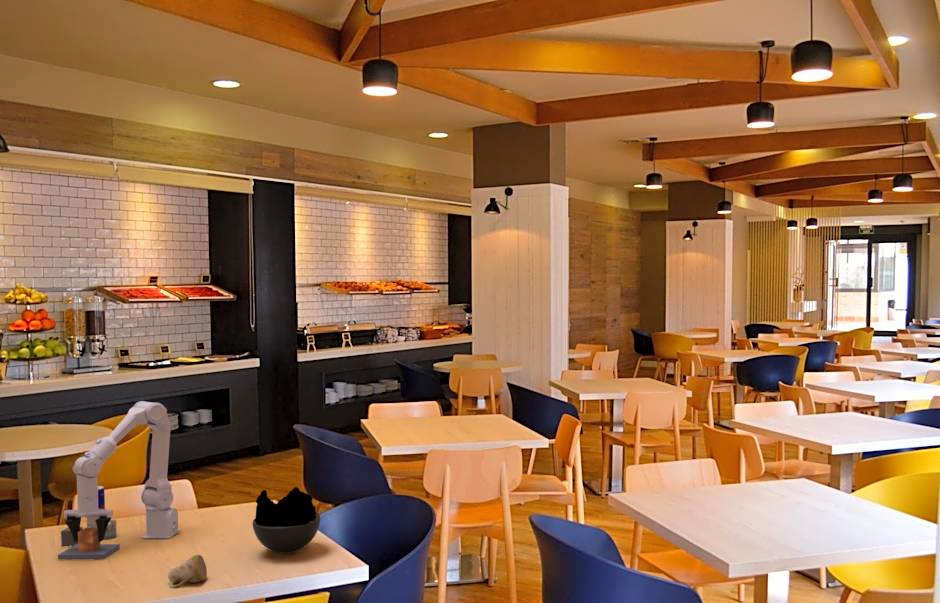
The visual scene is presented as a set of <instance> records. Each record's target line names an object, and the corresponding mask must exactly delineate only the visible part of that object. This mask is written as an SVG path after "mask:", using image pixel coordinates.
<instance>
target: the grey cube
mask: <svg viewBox="0 0 940 603" xmlns="http://www.w3.org/2000/svg"><path fill="white" fill-rule="evenodd" d="M114 538H117V520H115V519H111V520H110V522H109V524H108V526H107V529H106V532H105V537H104V540H107V539H108V540H109V539H114Z"/></svg>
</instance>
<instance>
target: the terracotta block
mask: <svg viewBox="0 0 940 603" xmlns="http://www.w3.org/2000/svg"><path fill="white" fill-rule="evenodd" d="M100 544H101V542H99V541H98V529H97V527H95V528H87V527H84V528H83V529H82V530H80V531H79V532H78V551H79V552H93V551H95V550H96V549H98V548H99V547H100Z"/></svg>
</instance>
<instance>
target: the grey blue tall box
mask: <svg viewBox="0 0 940 603" xmlns="http://www.w3.org/2000/svg"><path fill="white" fill-rule="evenodd" d="M105 496H106V495H105V487H104V486H101V485H98V509H106V504H105V503H106V500H105V499H106V498H105ZM98 518H99V517H86V528H95V527H97V524H96V521H95V520H97V519H98Z"/></svg>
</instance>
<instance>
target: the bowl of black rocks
mask: <svg viewBox="0 0 940 603" xmlns="http://www.w3.org/2000/svg"><path fill="white" fill-rule="evenodd" d="M313 499H314V498H313V496H311V494H309V493H306V492H304V491H300V488H299V487H298V486H295V487H293V488H292V489H291V490H289V492H288V494H286V496H283V497H282V498H281V499H279V500H278V502H277V503H275V502H274V500H271V499H270V498H269V497H268V491H267V490H266V489H263V490H262V491H261V492H260V494H259V495H258V496H257V498H256V499H255V503H256V507H255V518H254V519H253V520H252V529H253V533H254V534H255V536H256V539H257V540H258V541H259V542H260V544H261V545H262V546H264V547H265V548H267V549H268V550H270V551H272V552H275V553H281V554H291V553H295V552H297V551H300V550H301V549H304V548H305V547H306V546H307V545H308V544H310V542H311V541H312V540H313V539H314V538H315V536H316V535H317V533H318V531H319V527H320V523H321V522H320V521H321V515H320V514H319V513H318V512H317V511H316V509H317V508H316V507H315V505H314V504H313Z"/></svg>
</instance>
